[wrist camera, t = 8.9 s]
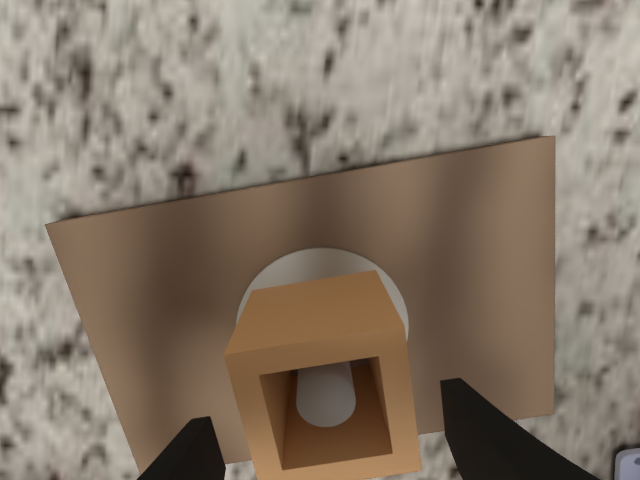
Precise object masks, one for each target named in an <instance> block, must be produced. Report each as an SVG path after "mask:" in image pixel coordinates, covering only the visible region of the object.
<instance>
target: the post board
mask: <svg viewBox="0 0 640 480" xmlns="http://www.w3.org/2000/svg"><path fill="white" fill-rule="evenodd" d="M45 227H46V229H47V232H48V235H49V237H50V240H51V242H52V245H53V248H54V250H55V253H56V256H57V258H58V261H59V263H60V266H61V269H62V271H63V274H64V276H65V279H66V282H67V284H68V287H69V289H70V292H71V295H72V297H73V300H74V302H75V305H76V308H77V310H78V313H79V315H80V318H81V321H82V323H83V326H84V329H85V331H86V334H87V336H88V339H89V342H90V344H91V347H92V349H93V352H94V355H95V357H96V360H97V362H98V365H99V368H100V370H101V373H102V375H103V378H104V381H105V383H106V386H107V388H108V391H109V394H110V396H111V399H112V402H113V404H114V407H115V409H116V412H117V415H118V417H119V420H120V422H121V425H122V428H123V430H124V433H125V435H126V438H127V441H128V443H129V446H130V448H131V451H132V454H133V456H134V459H135V461H136V464H137V467H138V469H139V472H140V475H141V474H142V473H143V472H144V471H145V470H146V469H147V468H148V467H149V465H150V464H151V463H152V462H153V461H154V460H155V459H156V458H157V457H158V455H159V454H160V453H161V452H162V451H163V450H164V449H165V448H166V446H167V445H168V444H169V443H170V442H171V441H172V440H173V438H174V437H175V436H176V435H177V434H178V433H179V432H180V431H181V429H182V428H183V427H184V426H185V425H186V424H187V423H188V422H189V421H190V420H191V419H193V418H200V417H206V416H211V420H212V423H213V427H214V430H215V433H216V437H217V440H218V443H219V447H220V450H221V453H222V457H223V460H224V463H225V464H230V463H237V462H243V461H250V460H252V457H251V454H250V450H249V446H248V443H247V439H246V435H245V432H244V428H243V424H242V421H241V417H240V413H239V410H238V406H237V403H236V399H235V395H234V392H233V388H232V384H231V381H230V377H229V373H228V370H227V366H226V362H225V359H224V355H223V354H224V352H225V350H226V348H227V345H228V343H229V341H230V339H231V336H232V334H233V332H234V330H235V327H236V325H237V323H238V320H239V318H240V316H241V314H242V311H243V309H244V307H245V305H246V302H247V300H248V298H249V296H250V293H251V291H252V290H257V289H263V288H269V287H275V286H281V285H287V284H293V283H299V282H305V281H311V280H317V279H323V278H329V277H335V276H341V275H347V274H353V273H359V272H365V271H371V270H376V271H377V273H378V275H379V277H380V279H381V281H382V283H383V285H384V286H385V288H386V290H387V292H388V294H389V296H390V298H391V300H392V302H393V304H394V306H395V308H396V310H397V312H398V314H399V316H400V317H401V319H402V321H403V323H404V325H405V333H406V341H407V350H408V358H409V366H410V375H411V383H412V392H413V400H414V409H415V417H416V425H417V434H418V435H419V434H426V433H432V432H439V431H445V429H444V418H443V408H442V397H441V387H440V380H447V379H453V378H461V379H463V380H464V381H465V382H466V383H467V384H469V385H470V386H471V387H472V388H473V389H475V390H476V391H477V392H478V393H479V394H480V395H482V396H483V397H484V398H485V399H487V400H488V401H489V402H490V403H491V404H493V405H494V406H495V407H496V408H498V409H499V410H500V411H501V412H503V413H504V414H505V415H506V416H508V417H509V418H510V419H512V420H517V419H524V418H530V417H537V416H543V415H550V414H554V359H555V136H541V137H535V138H529V139H523V140H518V141H512V142H506V143H500V144H495V145H489V146H483V147H477V148H472V149H466V150H460V151H454V152H449V153H443V154H437V155H431V156H426V157H420V158H414V159H409V160H403V161H397V162H391V163H386V164H380V165H374V166H368V167H363V168H357V169H351V170H345V171H340V172H334V173H328V174H323V175H317V176H311V177H305V178H300V179H294V180H288V181H282V182H277V183H271V184H265V185H259V186H254V187H248V188H242V189H237V190H231V191H225V192H219V193H214V194H208V195H202V196H196V197H191V198H185V199H179V200H173V201H168V202H162V203H156V204H151V205H145V206H139V207H133V208H128V209H122V210H116V211H110V212H105V213H99V214H93V215H87V216H82V217H76V218H70V219H65V220H60V221H56V222H52V223H49V224H45ZM369 364H370V363H369V358H363V359H357V360H351V361H344V362H338V363H332V364H325V365H319V366H313V367H307V368H300V369H294V370H290V373H291V377H294V376H298V382H297V396H296V406H297V410H298V412H299V414H300V415H301V417H302V418H303V419H304V420H305V421H307V422H308V423H310V424H312V425H315V426H319V427H332V426H336V425H339V424H341V423H343V422H344V421H346V420H347V419H348V418H349V417H350V416H351V415H352V413H353V411H354V409H355V405H356V397H355V391H354V385H353V380H352V374H351V368H350V367H357V366H363V365H369Z"/></svg>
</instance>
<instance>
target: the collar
mask: <svg viewBox="0 0 640 480" xmlns="http://www.w3.org/2000/svg"><path fill="white" fill-rule="evenodd" d="M223 355H224V359H225V362H226V366H227V370H228V373H229V377H230V381H231V384H232V388H233V392H234V395H235V399H236V403H237V406H238V410H239V413H240V417H241V421H242V424H243V428H244V432H245V435H246V439H247V443H248V446H249V450H250V454H251V457H252V461H253V464H254V468H255V472H256V475H257V479H258V480H363V479H370V478H377V477H383V476H390V475H397V474H403V473H410V472H417V471H422V467H421V459H420V451H419V442H418V434H417V425H416V417H415V409H414V400H413V392H412V383H411V375H410V366H409V358H408V350H407V341H406V333H405V325H404V323H403V321H402V319H401V317H400V316H399V314H398V312H397V310H396V308H395V306H394V304H393V302H392V300H391V298H390V296H389V294H388V292H387V290H386V288H385V286H384V285H383V283H382V281H381V279H380V277H379V275H378V273H377V271H376V270H371V271H365V272H359V273H353V274H347V275H341V276H335V277H329V278H323V279H317V280H311V281H305V282H299V283H293V284H287V285H281V286H275V287H269V288H263V289H257V290H252V291H251V293H250V296H249V298H248V300H247V302H246V305H245V307H244V309H243V311H242V314H241V316H240V318H239V320H238V323H237V325H236V327H235V330H234V332H233V334H232V336H231V339H230V341H229V343H228V345H227V348H226V350H225V352H224V354H223ZM363 358H369V363H370V364H369V365H363V366H357V367H350V368H351V374H352V380H353V385H354V391H355V397H356V405H355V409H354V411H353V413H352V415H351V416H350V417H349V418H348V419H347V420H346V421H344V422H343V423H341V424H339V425H336V426H332V427H319V426H315V425H312V424H310V423H308V422H307V421H305V420H304V419H303V418H302V417H301V415H300V414H299V412H298V410H297V406H296V396H297V382H298V376H294V377H291V373H290V370H294V369H300V368H307V367H313V366H319V365H325V364H332V363H338V362H344V361H351V360H357V359H363Z"/></svg>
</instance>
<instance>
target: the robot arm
mask: <svg viewBox="0 0 640 480" xmlns="http://www.w3.org/2000/svg"><path fill="white" fill-rule="evenodd" d="M440 387H441V397H442V408H443V418H444V429H445V436H446V439H447V442H448V444H449V447H450V450H451V452H452V455H453V458H454V460H455V463H456V465H457V468H458V471H459V473H460V475H461V477H462V479H463V480H600V479H598V478H596V477H595V476H593V475H592V474H590V473H588V472H587V471H585V470H583V469H582V468H580V467H578V466H577V465H575V464H574V463H572V462H570V461H569V460H567V459H566V458H564V457H563V456H561V455H560V454H558V453H557V452H555V451H554V450H552V449H551V448H550V447H548V446H547V445H545V444H544V443H542V442H541V441H540V440H538V439H537V438H535V437H534V436H533V435H531V434H530V433H529V432H527V431H526V430H525V429H523V428H522V427H521V426H519V425H518V424H517V423H515V422H514V421H513V420H512V419H510V418H509V417H508V416H506V415H505V414H504V413H503V412H501V411H500V410H499V409H498V408H496V407H495V406H494V405H493V404H491V403H490V402H489V401H488V400H487V399H485V398H484V397H483V396H482V395H480V394H479V393H478V392H477V391H476V390H475V389H473V388H472V387H471V386H470V385H469V384H467V383H466V382H465V381H464V380H463V379H461V378H453V379H447V380H440ZM225 470H226V467H225V463H224V460H223V457H222V453H221V450H220V447H219V443H218V440H217V437H216V433H215V430H214V427H213V423H212V420H211V416H206V417H200V418H193V419H191V420H190V421H189V422H188V423H187V424H186V425H185V426H184V427H183V428H182V429H181V431H180V432H179V433H178V434H177V435H176V436H175V437H174V438H173V440H172V441H171V442H170V443H169V444H168V445H167V446H166V448H165V449H164V450H163V451H162V452H161V453H160V454H159V455H158V457H157V458H156V459H155V460H154V461H153V462H152V463H151V464H150V465H149V467H148V468H147V469H146V470H145V471H144V472H143V473H142V474H141V476H140V477H139V478H138V479H137V480H224V477H225ZM614 480H640V448H635V449H629V450H623V451H621V452H619V453H618V454H617V455H616V461H615V477H614Z"/></svg>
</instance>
